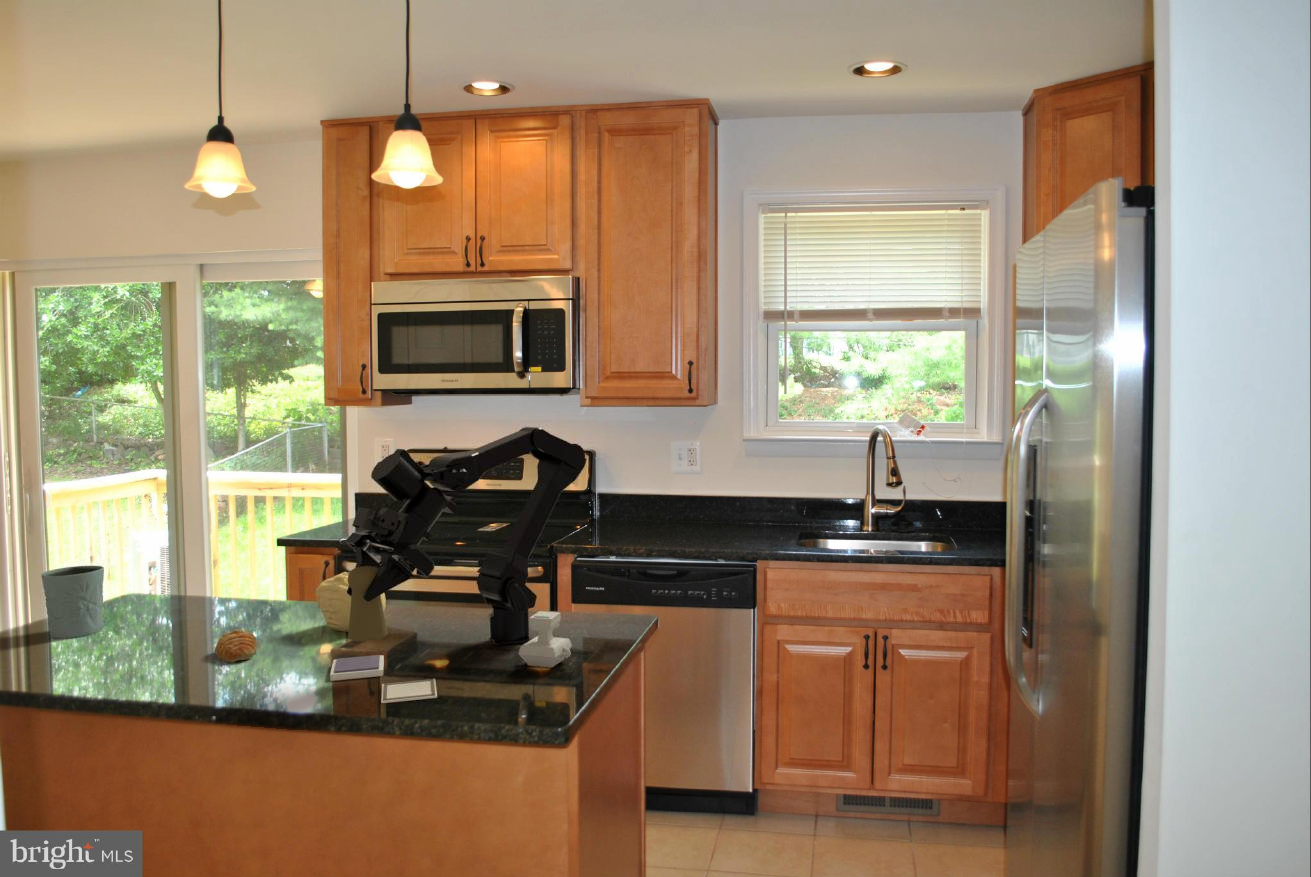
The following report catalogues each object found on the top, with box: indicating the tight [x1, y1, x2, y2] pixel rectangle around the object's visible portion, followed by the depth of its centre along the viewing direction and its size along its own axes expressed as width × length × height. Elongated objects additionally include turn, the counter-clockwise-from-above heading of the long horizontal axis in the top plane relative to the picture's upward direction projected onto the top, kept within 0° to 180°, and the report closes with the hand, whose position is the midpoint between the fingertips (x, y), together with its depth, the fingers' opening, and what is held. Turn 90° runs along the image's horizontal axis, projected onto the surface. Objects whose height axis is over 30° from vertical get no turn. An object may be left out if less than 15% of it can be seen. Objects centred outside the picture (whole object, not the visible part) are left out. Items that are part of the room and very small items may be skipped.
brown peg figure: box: [347, 566, 388, 642], centre depth 148 cm, size 6×6×11 cm
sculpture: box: [315, 571, 387, 633], centre depth 179 cm, size 12×12×11 cm
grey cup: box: [41, 565, 105, 640], centre depth 178 cm, size 10×10×12 cm
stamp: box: [518, 610, 573, 669], centre depth 155 cm, size 9×7×8 cm
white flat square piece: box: [380, 678, 438, 704], centre depth 142 cm, size 8×8×1 cm
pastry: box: [214, 629, 259, 664], centre depth 162 cm, size 9×7×4 cm
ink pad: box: [329, 654, 385, 682], centre depth 153 cm, size 8×8×1 cm
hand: (357, 597), depth 147 cm, fingers closed on brown peg figure, 5 cm apart
